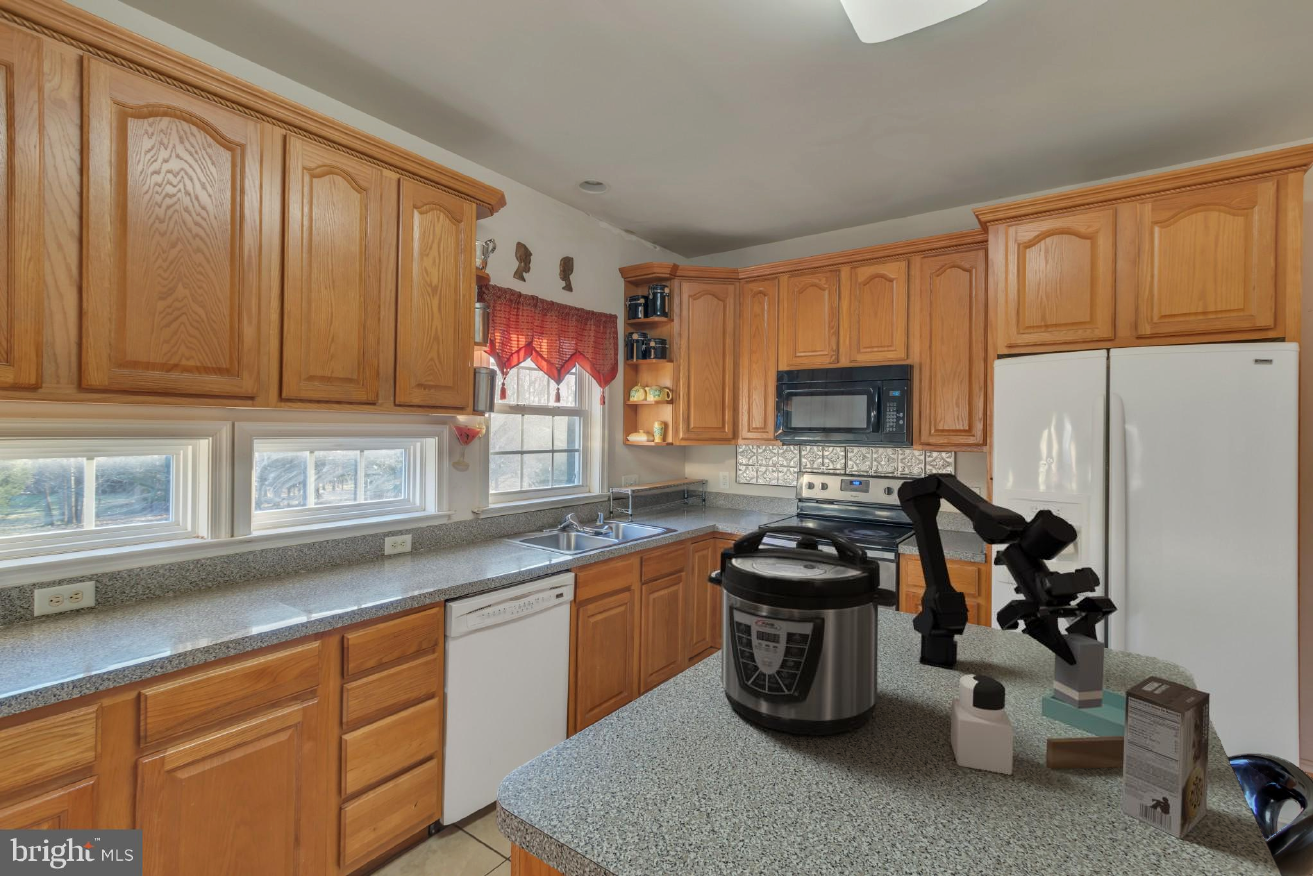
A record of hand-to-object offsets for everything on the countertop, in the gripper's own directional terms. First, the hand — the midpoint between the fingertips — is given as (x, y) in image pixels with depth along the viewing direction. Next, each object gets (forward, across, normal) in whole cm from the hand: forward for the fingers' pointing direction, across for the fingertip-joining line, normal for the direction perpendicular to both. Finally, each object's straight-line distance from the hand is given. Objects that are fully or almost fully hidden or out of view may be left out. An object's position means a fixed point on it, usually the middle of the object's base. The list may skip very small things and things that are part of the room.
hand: (1086, 663), depth 92 cm
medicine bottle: (+10, -18, +10) cm, 23 cm away
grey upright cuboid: (+4, 0, +6) cm, 7 cm away
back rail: (+12, -4, +6) cm, 15 cm away
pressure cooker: (-5, -39, +24) cm, 46 cm away
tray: (+4, +12, +14) cm, 19 cm away
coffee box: (+20, -4, -1) cm, 21 cm away
